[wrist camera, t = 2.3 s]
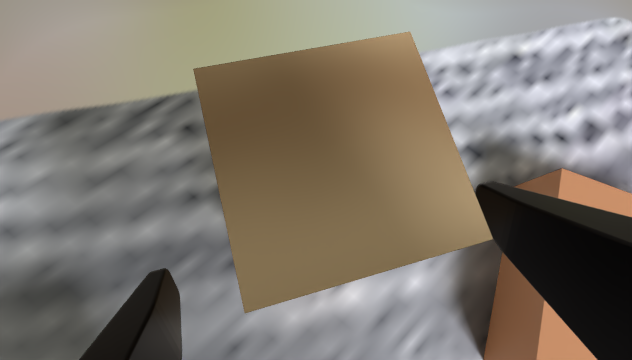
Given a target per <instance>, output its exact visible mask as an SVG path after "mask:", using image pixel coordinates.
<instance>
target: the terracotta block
mask: <svg viewBox="0 0 632 360" xmlns="http://www.w3.org/2000/svg"><path fill="white" fill-rule="evenodd" d="M514 187H516V188H520V189H524V190H528V191H532V192H536V193H539V194H543V195H547V196H551V197H555V198H559V199H563V200H567V201H571V202H575V203H578V204H582V205H586V206H590V207H594V208H598V209H602V210H606V211H610V212H613V213H617V214H621V215H625V216H629V217H632V194H631V193H628V192H625V191H622V190H620V189H617V188H614V187H612V186H609V185H606V184H603V183H601V182H598V181H595V180H592V179H590V178H587V177H584V176H582V175H579V174H576V173H573V172H571V171H568V170H565V169H563V168H562V169H559V170H556V171H554V172H551V173H548V174H546V175H543V176H541V177H538V178H535V179H533V180H530V181H527V182H525V183H522V184H519V185H517V186H514ZM483 360H597V359H596V358H595V357H594V355H593V354H592V353H591V352H590V351H589V350H588V349H587V347H586V346H585V345H584V344H583V343H582V342H581V341H580V340H579V338H578V337H577V336H576V335H575V334H574V333H573V332H572V331H571V329H570V328H569V327H568V326H567V325H566V324H565V323H564V321H563V320H562V319H561V318H560V317H559V316H558V315H557V314H556V312H555V311H554V310H553V309H552V308H551V307H550V306H549V304H548V303H547V302H546V301H545V300H544V299H543V298H542V297H541V295H540V294H539V293H538V292H537V291H536V290H535V289H534V287H533V286H532V285H531V284H530V283H529V282H528V281H527V280H526V278H525V277H524V276H523V275H522V274H521V273H520V272H519V270H518V269H517V268H516V267H515V266H514V265H513V264H512V263H511V261H510V260H509V259H508V258H507V257H506V255H505V254H504V253H503V252H502V257H501V263H500V268H499V274H498V280H497V285H496V291H495V297H494V303H493V308H492V314H491V320H490V325H489V331H488V337H487V342H486V348H485V354H484V359H483Z"/></svg>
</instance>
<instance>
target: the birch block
mask: <svg viewBox="0 0 632 360" xmlns="http://www.w3.org/2000/svg"><path fill="white" fill-rule="evenodd" d="M193 70H194V74H195V79H196V84H197V89H198V93H199V98H200V103H201V108H202V112H203V117H204V122H205V127H206V131H207V136H208V141H209V146H210V150H211V155H212V160H213V165H214V169H215V174H216V179H217V184H218V188H219V193H220V198H221V203H222V207H223V212H224V217H225V222H226V227H227V231H228V236H229V241H230V246H231V250H232V255H233V260H234V265H235V269H236V274H237V279H238V284H239V288H240V293H241V298H242V303H243V307H244V312H245V313H248V312H251V311H254V310H258V309H261V308H264V307H268V306H271V305H274V304H278V303H281V302H284V301H288V300H291V299H295V298H298V297H301V296H305V295H308V294H311V293H315V292H318V291H321V290H325V289H328V288H331V287H335V286H338V285H341V284H345V283H348V282H351V281H355V280H358V279H361V278H365V277H368V276H371V275H375V274H378V273H382V272H385V271H388V270H392V269H395V268H398V267H402V266H405V265H408V264H412V263H415V262H418V261H422V260H425V259H428V258H432V257H435V256H438V255H442V254H445V253H448V252H452V251H455V250H459V249H462V248H465V247H469V246H472V245H475V244H479V243H482V242H485V241H489V240H492V239H493V237H492V235H491V232H490V230H489V227H488V225H487V222H486V220H485V217H484V215H483V212H482V210H481V207H480V205H479V202H478V200H477V197H476V195H475V192H474V190H473V187H472V185H471V182H470V180H469V177H468V175H467V172H466V170H465V167H464V165H463V162H462V160H461V157H460V155H459V152H458V150H457V147H456V145H455V142H454V140H453V137H452V135H451V132H450V130H449V127H448V125H447V122H446V120H445V117H444V115H443V112H442V110H441V107H440V105H439V102H438V100H437V97H436V95H435V93H434V90H433V88H432V85H431V83H430V80H429V78H428V75H427V73H426V70H425V68H424V65H423V63H422V60H421V58H420V55H419V53H418V50H417V48H416V45H415V43H414V40H413V38H412V35H411V33H410V32H405V33H400V34H394V35H388V36H382V37H376V38H370V39H365V40H359V41H353V42H347V43H341V44H336V45H330V46H324V47H318V48H312V49H306V50H300V51H295V52H289V53H284V54H277V55H271V56H266V57H260V58H254V59H248V60H242V61H236V62H231V63H225V64H219V65H213V66H208V67H202V68H196V69H193Z"/></svg>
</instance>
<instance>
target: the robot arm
mask: <svg viewBox="0 0 632 360" xmlns="http://www.w3.org/2000/svg"><path fill="white" fill-rule="evenodd" d="M475 195H476V197H477V200H478V202H479V205H480V207H481V210H482V212H483V215H484V217H485V220H486V222H487V225H488V227H489V230H490V232H491V235H492V237H493V239H494V241H495V242H496V244H497V245H498V246H499V248H500V249H501V250H502V252H503V253H504V254H505V255H506V257H507V258H508V259H509V260H510V261H511V263H512V264H513V265H514V266H515V267H516V268H517V269H518V270H519V272H520V273H521V274H522V275H523V276H524V277H525V278H526V280H527V281H528V282H529V283H530V284H531V285H532V286H533V287H534V289H535V290H536V291H537V292H538V293H539V294H540V295H541V297H542V298H543V299H544V300H545V301H546V302H547V303H548V304H549V306H550V307H551V308H552V309H553V310H554V311H555V312H556V314H557V315H558V316H559V317H560V318H561V319H562V320H563V321H564V323H565V324H566V325H567V326H568V327H569V328H570V329H571V331H572V332H573V333H574V334H575V335H576V336H577V337H578V338H579V340H580V341H581V342H582V343H583V344H584V345H585V346H586V347H587V349H588V350H589V351H590V352H591V353H592V354H593V355H594V357H595V358H596V359H597V360H632V217H629V216H625V215H621V214H617V213H613V212H610V211H606V210H602V209H598V208H594V207H590V206H586V205H582V204H578V203H575V202H571V201H567V200H563V199H559V198H555V197H551V196H547V195H543V194H539V193H536V192H532V191H528V190H524V189H520V188H516V187H512V186H508V185H504V184H501V183H497V182H492V181H490V182H486V183H482V184H479V185H478V186H477V188H476V193H475ZM79 360H182V338H181V312H180V295H179V291H178V288H177V286H176V284H175V282H174V280H173V278H172V276H171V274H170V272H169V270H168V269H166V268H163V269H160V270H156V271H152V272H150V273H149V274H148V275H147V276H146V277H145V279H144V280H143V281H142V282H141V284H140V285H139V286H138V287H137V288H136V290H135V291H134V292H133V293H132V295H131V296H130V297H129V298H128V300H127V301H126V302H125V303H124V305H123V306H122V307H121V308H120V310H119V311H118V312H117V313H116V315H115V316H114V317H113V318H112V319H111V321H110V322H109V323H108V324H107V326H106V327H105V328H104V329H103V331H102V332H101V333H100V334H99V336H98V337H97V338H96V339H95V341H94V342H93V343H92V344H91V346H90V347H89V348H88V349H87V350H86V352H85V353H84V354H83V355H82V357H81V358H80V359H79Z"/></svg>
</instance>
